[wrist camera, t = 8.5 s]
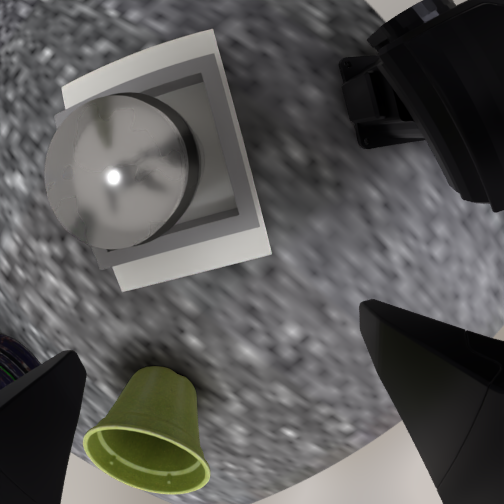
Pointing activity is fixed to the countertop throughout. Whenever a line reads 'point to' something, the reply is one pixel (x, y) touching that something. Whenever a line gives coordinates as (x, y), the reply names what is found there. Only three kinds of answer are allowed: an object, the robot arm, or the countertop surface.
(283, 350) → the countertop surface
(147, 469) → the plant pot
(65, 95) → the grey open box
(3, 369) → the storage jar
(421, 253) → the countertop surface
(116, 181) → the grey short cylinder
